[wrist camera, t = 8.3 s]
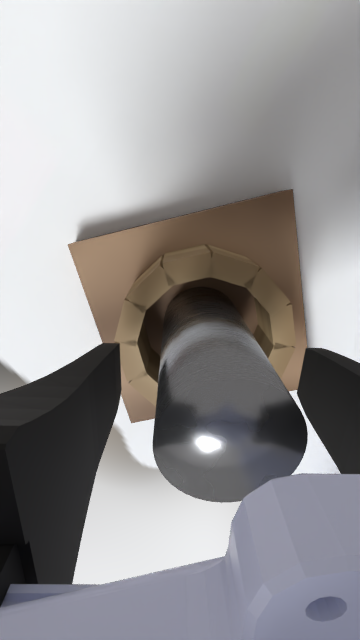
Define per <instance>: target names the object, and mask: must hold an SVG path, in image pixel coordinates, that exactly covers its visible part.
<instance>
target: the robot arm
mask: <svg viewBox="0 0 360 640" xmlns="http://www.w3.org/2000/svg"><path fill="white" fill-rule="evenodd" d="M121 390H122V387H121V363H120V343H103V344H101V345H99V346H97V347H95V348H94V349H92V350H91V351H89V352H87V353H86V354H84V355H83V356H81V357H79V358H78V359H76V360H75V361H73V362H71V363H69V364H68V365H66V366H64V367H62V368H60V369H59V370H57V371H55V372H53V373H51V374H49V375H47V376H45V377H43V378H41V379H38V380H36V381H34V382H31V383H29V384H27V385H24V386H21V387H19V388H16V389H13V390H10V391H7V392H4V393H1V394H0V640H360V363H358V362H356V361H354V360H352V359H349V358H347V357H345V356H342V355H340V354H337V353H335V352H332V351H329V350H326V349H323V348H306V349H305V354H304V359H303V365H302V370H301V375H300V380H299V385H298V390H297V395H298V397H299V400H300V402H301V405H302V407H303V409H304V412H305V414H306V416H307V418H308V419H309V421H310V423H311V424H312V426H313V428H314V429H315V431H316V433H317V434H318V436H319V438H320V439H321V441H322V443H323V444H324V446H325V448H326V449H327V451H328V452H329V454H330V456H331V457H332V459H333V461H334V462H335V464H336V466H337V467H338V469H339V471H340V473H341V474H304V473H302V474H297V475H291V476H286V477H280V478H275V479H271V480H269V481H268V482H266V483H265V484H263V485H262V486H260V487H259V488H257V489H256V490H254V491H252V492H251V493H249V494H248V495H247V496H245V497H244V498H243V500H242V502H241V504H240V506H239V508H238V510H237V512H236V514H235V516H234V518H233V520H232V523H231V530H230V538H229V546H228V549H227V552H226V555H225V556H224V557H220V558H215V559H211V560H206V561H202V562H198V563H194V564H189V565H185V566H181V567H176V568H172V569H167V570H163V571H158V572H154V573H150V574H145V575H141V576H137V577H132V578H128V579H123V580H120V581H115V582H110V583H106V584H102V585H87V584H86V585H83V584H81V585H80V584H79V585H78V584H72V582H73V576H74V571H75V566H76V562H77V557H78V552H79V547H80V541H81V537H82V532H83V528H84V523H85V519H86V514H87V510H88V505H89V501H90V496H91V492H92V488H93V484H94V479H95V476H96V472H97V469H98V465H99V462H100V459H101V456H102V453H103V450H104V448H105V445H106V442H107V439H108V436H109V434H110V431H111V428H112V425H113V422H114V419H115V416H116V413H117V410H118V405H119V400H120V395H121Z"/></svg>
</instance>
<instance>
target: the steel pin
mask: <svg viewBox="0 0 360 640" xmlns="http://www.w3.org/2000/svg"><path fill="white" fill-rule="evenodd" d="M307 435H308V434H307V426H306V422H305V419H304V417H303V415H302V413H301V411H300V409H299V407H298V406H297V404H296V403H295V401H294V399H293V398H292V396H291V395H290V393H289V391H288V390H287V388H286V387H285V385H284V384H283V382H282V380H281V379H280V377H279V376H278V374H277V372H276V371H275V369H274V368H273V366H272V364H271V363H270V361H269V360H268V358H267V356H266V355H265V353H264V352H263V350H262V349H261V347H260V345H259V344H258V342H257V341H256V339H255V337H254V336H253V334H252V333H251V331H250V329H249V328H248V326H247V325H246V323H245V321H244V320H243V318H242V317H241V315H240V314H239V312H238V310H237V309H236V307H235V306H234V304H233V302H232V301H231V300H230V299H229V298H228V297H227V296H226V295H225V294H224V293H222V292H221V291H219V290H216V289H214V288H210V287H194V288H190V289H187V290H185V291H183V292H181V293H180V294H178V295H177V296H176V297H175V298H174V299H173V300H172V301H171V302H170V304H169V305H168V307H167V309H166V312H165V315H164V323H163V335H162V346H161V357H160V368H159V379H158V390H157V401H156V412H155V423H154V434H153V453H154V458H155V461H156V464H157V466H158V468H159V470H160V471H161V473H162V474H163V476H164V477H165V478H166V479H167V480H168V481H169V482H170V483H171V484H172V485H173V486H174V487H176V488H177V489H178V490H180V491H182V492H184V493H185V494H188V495H190V496H192V497H195V498H198V499H202V500H206V501H212V502H236V501H242V500H243V498H244V497H245V496H247V495H248V494H249V493H251V492H252V491H254V490H256V489H257V488H259V487H260V486H262V485H263V484H265V483H266V482H268V481H269V480H271V479H275V478H280V477H286V476H290V475H291V474H292V473H293V472H294V471H295V469H296V468H297V467H298V465H299V464H300V462H301V460H302V458H303V456H304V453H305V450H306V445H307Z"/></svg>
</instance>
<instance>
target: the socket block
mask: <svg viewBox="0 0 360 640" xmlns="http://www.w3.org/2000/svg"><path fill="white" fill-rule="evenodd" d="M68 247H69V250H70V252H71V255H72V258H73V261H74V264H75V266H76V269H77V272H78V275H79V278H80V280H81V283H82V286H83V289H84V292H85V295H86V297H87V300H88V303H89V306H90V309H91V311H92V314H93V317H94V320H95V323H96V325H97V328H98V331H99V334H100V337H101V339H102V342H103V343H120V363H121V387H122V390H121V395H122V398H123V401H124V404H125V407H126V410H127V412H128V415H129V418H130V421H131V423H135V422H140V421H145V420H149V419H154V418H155V412H156V401H157V390H158V379H159V368H160V357H161V346H162V335H163V323H164V315H165V312H166V309H167V307H168V305H169V304H170V302H171V301H172V300H173V299H174V298H175V297H176V296H177V295H178V294H180V293H181V292H183V291H185V290H187V289H190V288H194V287H210V288H214V289H216V290H219V291H221V292H222V293H224V294H225V295H226V296H227V297H228V298H229V299H230V300H231V301H232V302H233V304H234V306H235V307H236V309H237V310H238V312H239V314H240V315H241V317H242V318H243V320H244V321H245V323H246V325H247V326H248V328H249V329H250V331H251V333H252V334H253V336H254V337H255V339H256V341H257V342H258V344H259V345H260V347H261V349H262V350H263V352H264V353H265V355H266V356H267V358H268V360H269V361H270V363H271V364H272V366H273V368H274V369H275V371H276V372H277V374H278V376H279V377H280V379H281V380H282V382H283V384H284V385H285V387H286V388H287V390H288V391H293V390H298V385H299V380H300V375H301V370H302V365H303V359H304V354H305V349H306V348H307V339H306V329H305V318H304V307H303V296H302V285H301V274H300V264H299V253H298V242H297V231H296V220H295V209H294V199H293V189H290V190H284V191H280V192H276V193H272V194H268V195H264V196H260V197H255V198H251V199H247V200H243V201H239V202H235V203H231V204H227V205H223V206H219V207H215V208H211V209H207V210H203V211H199V212H195V213H191V214H187V215H183V216H178V217H174V218H170V219H166V220H162V221H158V222H154V223H150V224H146V225H142V226H138V227H134V228H130V229H126V230H122V231H118V232H114V233H110V234H106V235H101V236H97V237H93V238H89V239H85V240H81V241H77V242H74V243H71V244H68Z"/></svg>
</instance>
